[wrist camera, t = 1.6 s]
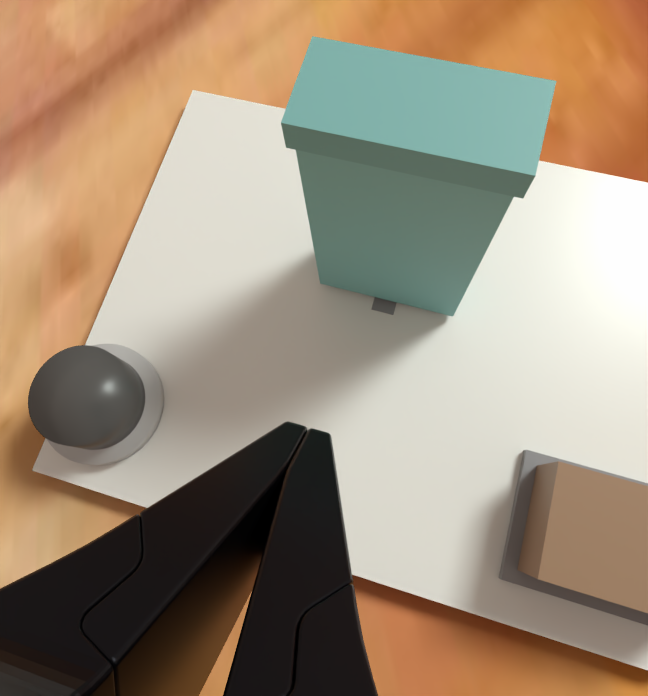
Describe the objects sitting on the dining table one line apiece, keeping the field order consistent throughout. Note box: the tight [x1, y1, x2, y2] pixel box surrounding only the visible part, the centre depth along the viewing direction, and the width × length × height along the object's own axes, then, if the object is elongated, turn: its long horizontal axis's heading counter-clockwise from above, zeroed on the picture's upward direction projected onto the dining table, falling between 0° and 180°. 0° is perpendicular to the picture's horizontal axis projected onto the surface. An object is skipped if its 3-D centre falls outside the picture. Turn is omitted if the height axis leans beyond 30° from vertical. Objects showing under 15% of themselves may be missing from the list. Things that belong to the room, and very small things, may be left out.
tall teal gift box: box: [281, 36, 556, 316], centre depth 19 cm, size 3×6×11 cm, turn 74°
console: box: [28, 90, 648, 670], centre depth 22 cm, size 20×27×4 cm
